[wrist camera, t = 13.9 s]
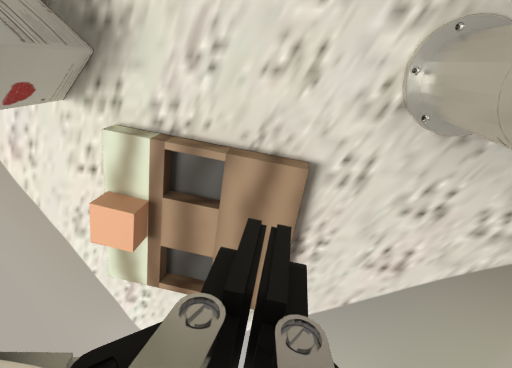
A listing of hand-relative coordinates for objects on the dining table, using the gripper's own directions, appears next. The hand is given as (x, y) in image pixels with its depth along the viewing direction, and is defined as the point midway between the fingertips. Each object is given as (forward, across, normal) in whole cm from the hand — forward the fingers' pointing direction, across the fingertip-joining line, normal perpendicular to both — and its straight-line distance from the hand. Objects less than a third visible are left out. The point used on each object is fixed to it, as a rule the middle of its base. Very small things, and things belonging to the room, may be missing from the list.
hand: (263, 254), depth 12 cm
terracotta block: (+26, +20, +17) cm, 37 cm away
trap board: (+29, +10, +17) cm, 35 cm away
